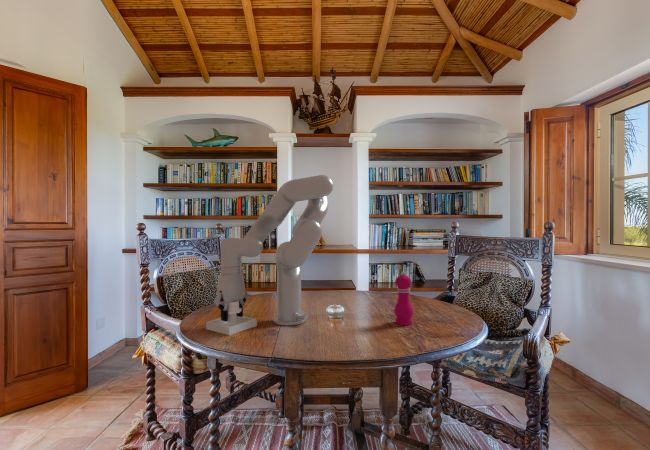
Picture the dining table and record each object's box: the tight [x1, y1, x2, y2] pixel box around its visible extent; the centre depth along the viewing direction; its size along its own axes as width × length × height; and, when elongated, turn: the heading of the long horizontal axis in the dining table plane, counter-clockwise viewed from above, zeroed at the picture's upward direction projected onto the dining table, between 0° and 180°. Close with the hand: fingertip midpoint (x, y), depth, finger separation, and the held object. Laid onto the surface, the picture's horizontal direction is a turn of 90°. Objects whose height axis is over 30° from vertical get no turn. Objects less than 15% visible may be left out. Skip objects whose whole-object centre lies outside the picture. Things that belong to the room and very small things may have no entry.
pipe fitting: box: [226, 300, 242, 323], centre depth 128 cm, size 6×7×8 cm
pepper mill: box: [393, 270, 414, 326], centre depth 131 cm, size 7×7×20 cm
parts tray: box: [205, 315, 258, 336], centre depth 128 cm, size 13×13×3 cm
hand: (232, 318), depth 128 cm, fingers closed on pipe fitting, 6 cm apart
